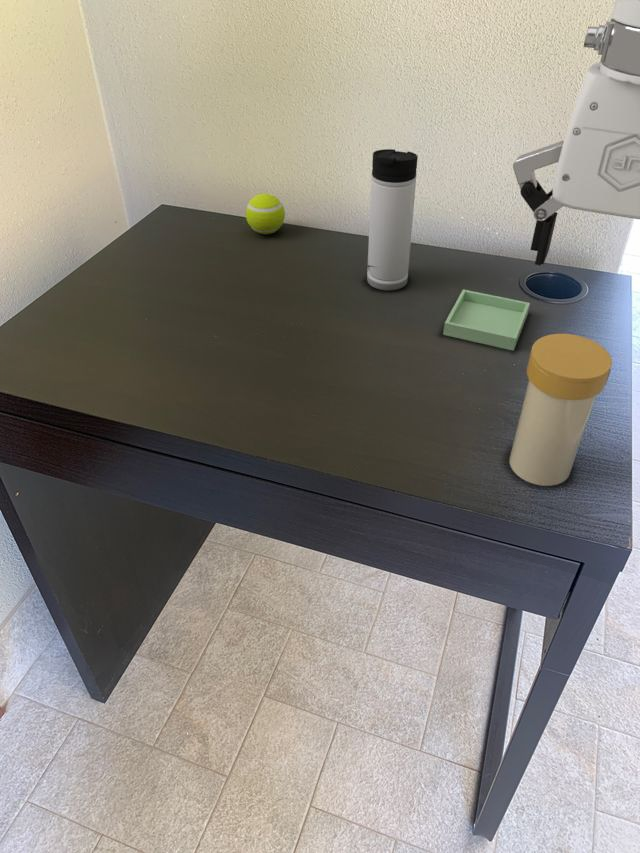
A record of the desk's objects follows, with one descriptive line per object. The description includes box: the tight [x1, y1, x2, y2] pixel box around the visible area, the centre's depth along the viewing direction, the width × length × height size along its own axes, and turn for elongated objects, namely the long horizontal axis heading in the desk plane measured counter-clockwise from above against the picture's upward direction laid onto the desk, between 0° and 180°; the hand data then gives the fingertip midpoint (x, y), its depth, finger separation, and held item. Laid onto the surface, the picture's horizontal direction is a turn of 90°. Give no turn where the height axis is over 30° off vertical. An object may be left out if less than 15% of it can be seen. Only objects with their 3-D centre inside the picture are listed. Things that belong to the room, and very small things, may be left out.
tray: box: [442, 289, 531, 352], centre depth 96 cm, size 10×10×2 cm
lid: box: [526, 333, 613, 400], centre depth 67 cm, size 8×8×3 cm
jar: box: [508, 379, 597, 487], centre depth 71 cm, size 7×7×14 cm
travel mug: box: [366, 148, 419, 292], centre depth 99 cm, size 6×7×20 cm
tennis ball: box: [245, 193, 286, 235], centre depth 117 cm, size 7×7×7 cm
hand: (597, 268), depth 60 cm, fingers open, 9 cm apart
